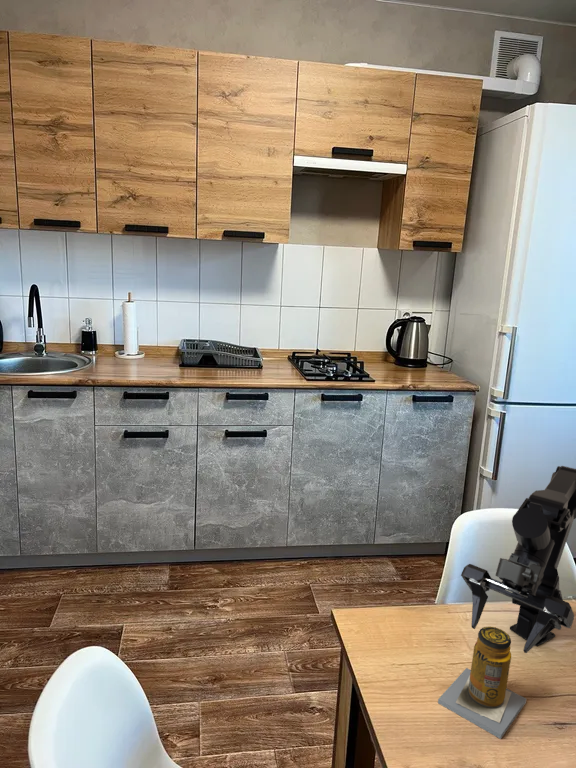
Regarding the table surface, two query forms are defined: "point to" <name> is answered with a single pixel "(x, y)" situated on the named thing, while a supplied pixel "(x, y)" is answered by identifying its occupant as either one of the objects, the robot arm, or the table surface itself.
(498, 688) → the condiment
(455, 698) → the coaster board
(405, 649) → the table surface
